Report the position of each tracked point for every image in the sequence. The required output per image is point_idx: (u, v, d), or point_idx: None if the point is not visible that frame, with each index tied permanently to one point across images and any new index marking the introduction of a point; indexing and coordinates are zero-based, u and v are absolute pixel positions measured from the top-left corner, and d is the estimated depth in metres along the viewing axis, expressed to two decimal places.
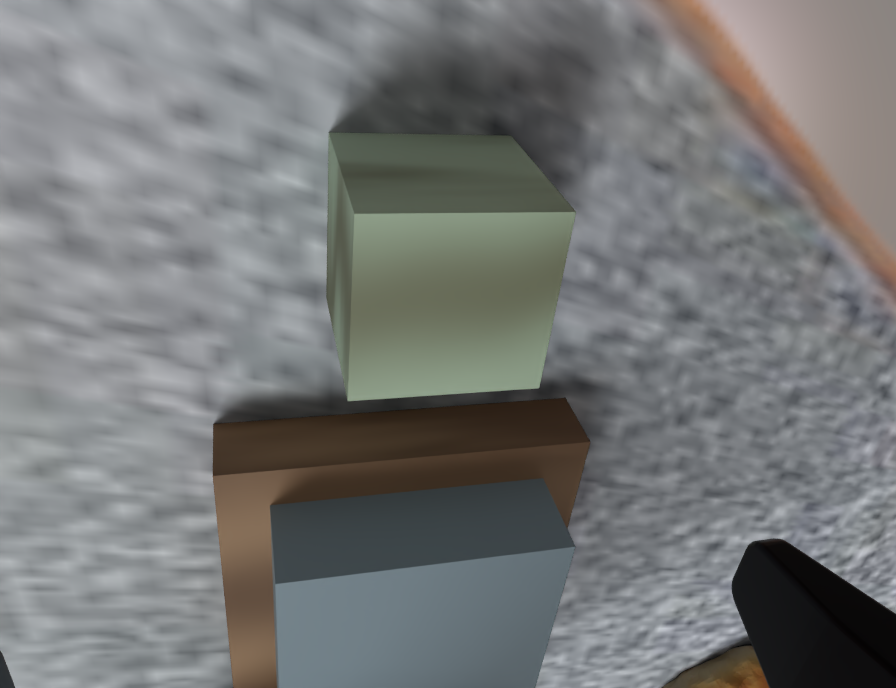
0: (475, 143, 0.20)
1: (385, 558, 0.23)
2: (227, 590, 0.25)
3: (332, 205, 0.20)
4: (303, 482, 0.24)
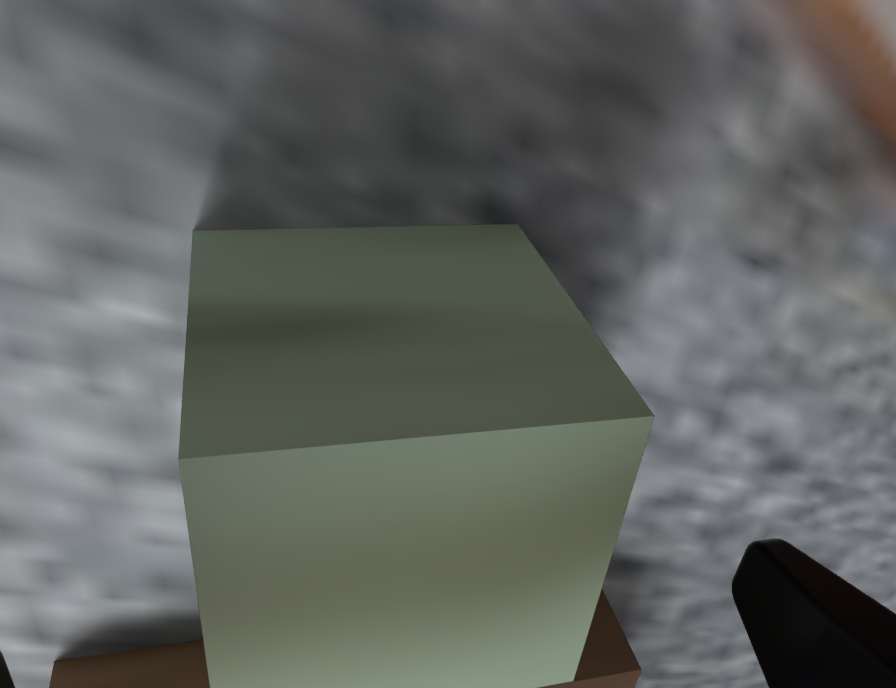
0: (455, 243, 0.12)
1: None
2: None
3: None
4: None
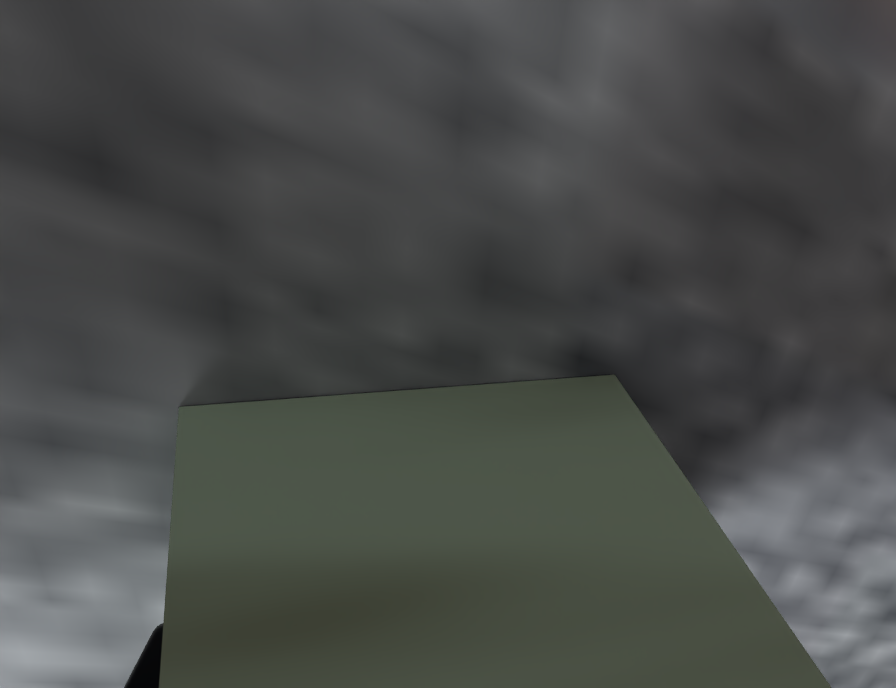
0: (541, 420, 0.08)
1: None
2: None
3: None
4: None
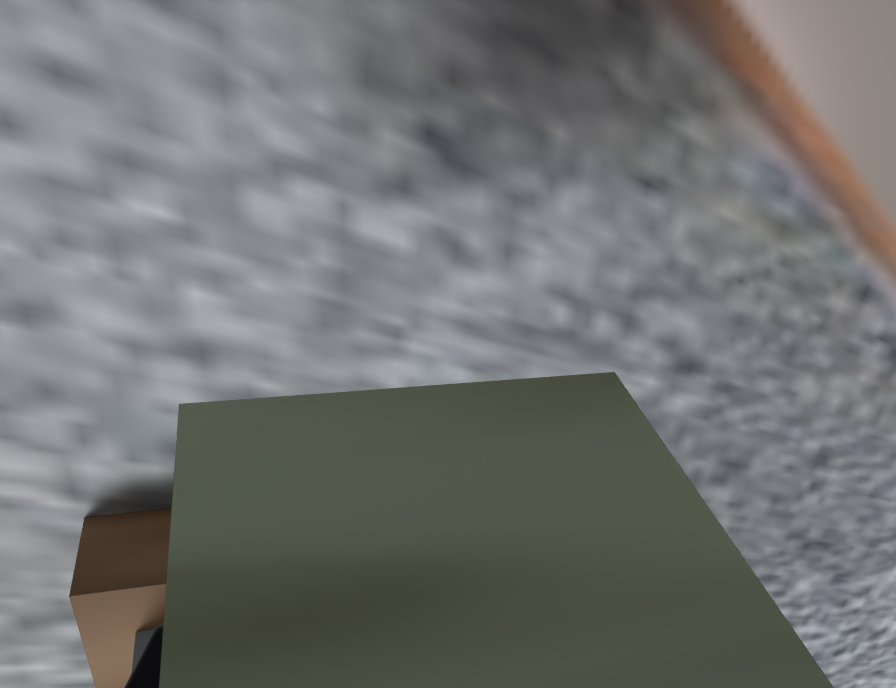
0: (540, 417, 0.08)
1: None
2: None
3: None
4: None
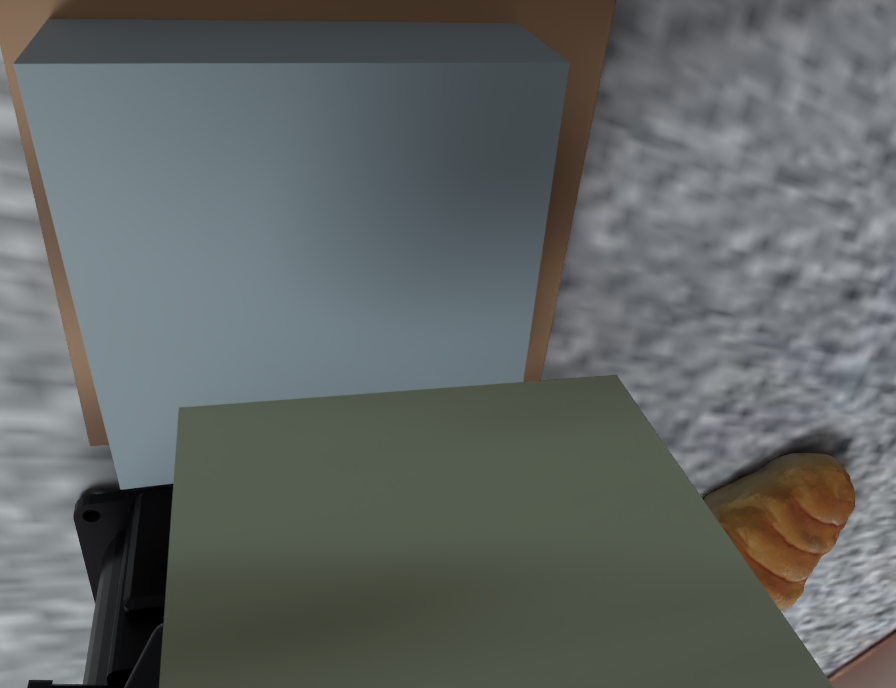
0: (542, 421, 0.08)
1: (230, 56, 0.13)
2: (40, 197, 0.16)
3: None
4: None
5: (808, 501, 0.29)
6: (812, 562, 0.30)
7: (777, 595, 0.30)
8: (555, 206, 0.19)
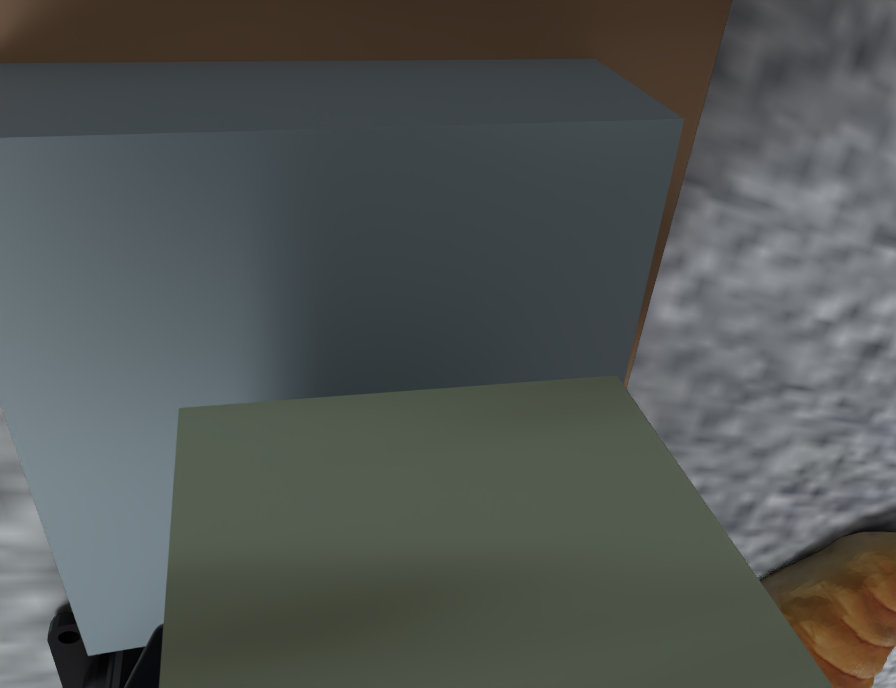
0: (543, 421, 0.08)
1: (221, 118, 0.09)
2: None
3: None
4: (112, 3, 0.10)
5: (883, 591, 0.25)
6: (886, 656, 0.26)
7: None
8: None
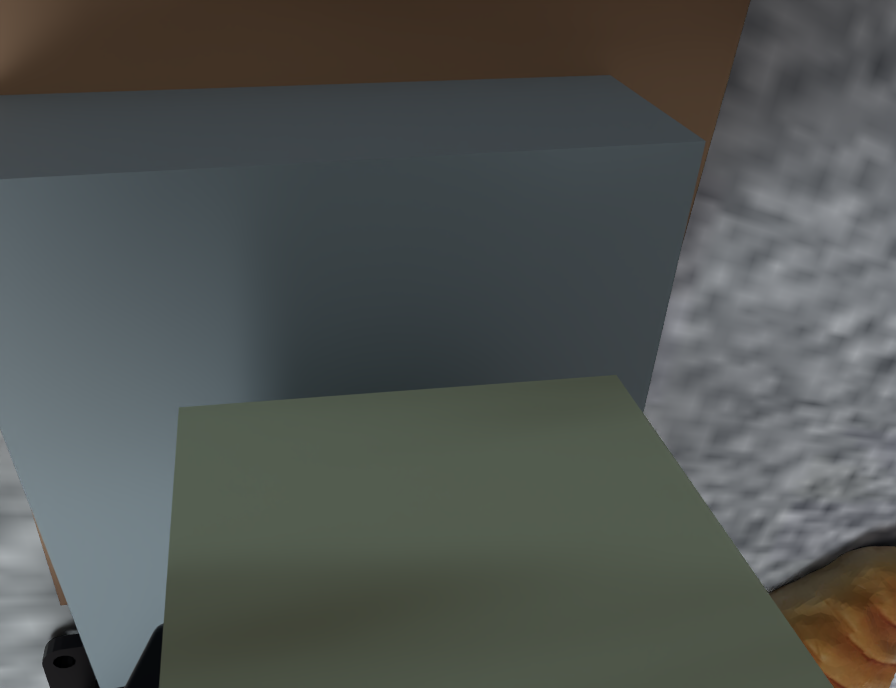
0: (542, 421, 0.08)
1: (228, 153, 0.09)
2: None
3: None
4: (106, 16, 0.10)
5: (890, 608, 0.25)
6: (893, 673, 0.26)
7: None
8: None
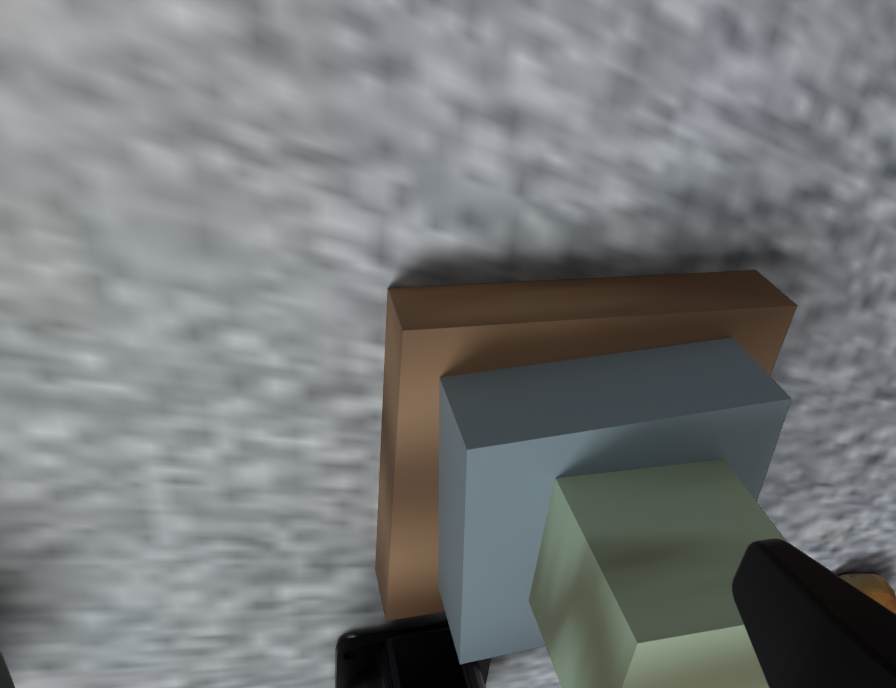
0: (697, 481, 0.21)
1: (582, 420, 0.20)
2: (398, 476, 0.23)
3: (561, 552, 0.20)
4: (495, 343, 0.21)
5: None
6: None
7: None
8: None
